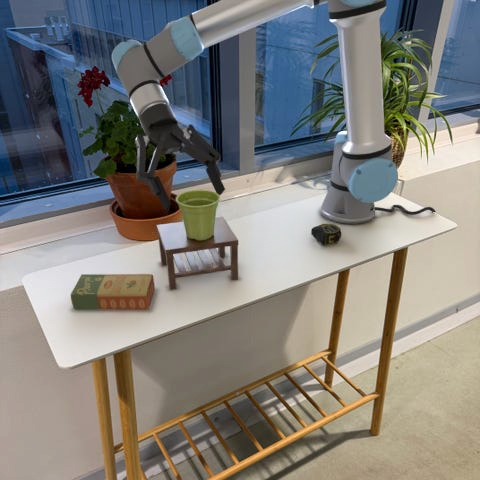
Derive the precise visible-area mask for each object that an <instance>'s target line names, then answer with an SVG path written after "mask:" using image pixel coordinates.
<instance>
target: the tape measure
mask: <svg viewBox="0 0 480 480" xmlns="http://www.w3.org/2000/svg"><path fill="white" fill-rule="evenodd" d="M310 233H311V236H312V237H313V238H314V239H316V241H318V242H319V243H320V245H322V246H328V245H334V244H337V243H338V242H339V241H340V240H341V238H342V230H341V228H340V227H339V226H338V225H336V224H334V223H322V224H319V225H316V226H313V227H312V228H311V231H310Z"/></svg>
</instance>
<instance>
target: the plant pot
mask: <svg viewBox="0 0 480 480" xmlns="http://www.w3.org/2000/svg"><path fill="white" fill-rule="evenodd" d="M220 201H221V195H218V194H217V193H216V191H212V190H206V189H193V190H187V191H184V192H181V193H179V194H178V195H177V196H176V197H175V202H176V204H178V208H179V209H180V213H181V217H182V222H184V226H185V231H186V235H187V237H188V238H190V239H196V240H206V239H209V238H211V236H212V235H214V228H215V218H217V209H218V206H219V202H220Z"/></svg>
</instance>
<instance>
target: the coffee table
mask: <svg viewBox="0 0 480 480" xmlns="http://www.w3.org/2000/svg"><path fill="white" fill-rule="evenodd" d="M156 230H157V237H158V246H159V247H158V248H159V256H160V264H161V266H166V269H167V270H166V271H167V277H168V278H167V280H168V288H169V290H170V291H173V290H176V289H177V280H176V279H180V278H181V279H182V278H186V277H195V276H200V275H206V274H212V273H213V274H214V273H219V272H220V273H221V272H226V271H227V272H228V271H230V278H231V280H232V281H236V280H238V279H239V239H238V237H237V236H236V234H235V233H234V231H233V229H232V228H231V227H230V225H229V224H228V222H227V220H226V219H225V217H224V216H218V217H217V216H216V218H215V228H214V235H212V236H211V238H209V239H206V240H196V239H190V238H188V237H187V235H186V231H185V226H184V221H177V222H170V223H163V224H161V223H160V224H156ZM227 247H229V255H230V256H229V258H230V262H229V263H230V264H228V265H226V264H225V262H224V260H223V258H224V257H226V248H227ZM207 250H208V251H209V253H210V254H211V256H212V258H213V260H214V262H215V265H216V266H213V265H212V263H211V262H210V259H209V257H208V255H207V253H206V252H205V251H207ZM193 252H196V253H197V255H198V257H199V259H200V262H201V263H202V265H203V267H204V268H201V269H200V267H199V264H198V263H197V261H196V258H195V256H194V254H193ZM180 254H184V255H185V257H186V260H187V262H188V264H189V267H190V269H191V270H187V269H186V267H185V264H184V262H183V259H182V257H181V255H180ZM175 266H176V269H177V271H178V272H176V269H175Z"/></svg>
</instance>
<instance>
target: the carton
mask: <svg viewBox="0 0 480 480" xmlns="http://www.w3.org/2000/svg"><path fill="white" fill-rule="evenodd" d="M79 276H80V277H79V278H78V280H77V282H76V284H75V286H74V287H73V289H72V291H71V293H70V300H71V304H72V307H73V310H76V311H86V310H87V311H105V310H107V311H111V310H112V311H113V310H119V311H120V310H121V311H126V310H129V311H130V310H133V311H135V310H138V311H139V310H142V311H143V310H146V311H147V310H149V309H150V306H151V303H152V299H153V297H154V293H155V292H156V291H155V290H156V285H155V277H154V275H153V274H151V273H146V274H145V273H139V274H137V273H135V274H134V273H133V274H131V273H130V274H129V273H127V274H124V273H123V274H114V273H113V274H107V273H106V274H103V273H102V274H101V273H99V274H93V273H92V274H89V273H87V274H85V273H84V274H83V273H82V274H80V275H79Z"/></svg>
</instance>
